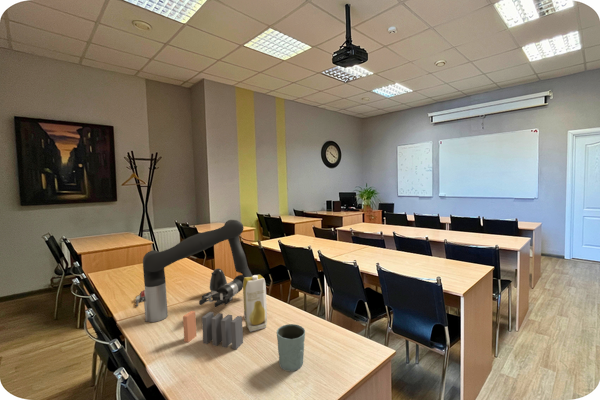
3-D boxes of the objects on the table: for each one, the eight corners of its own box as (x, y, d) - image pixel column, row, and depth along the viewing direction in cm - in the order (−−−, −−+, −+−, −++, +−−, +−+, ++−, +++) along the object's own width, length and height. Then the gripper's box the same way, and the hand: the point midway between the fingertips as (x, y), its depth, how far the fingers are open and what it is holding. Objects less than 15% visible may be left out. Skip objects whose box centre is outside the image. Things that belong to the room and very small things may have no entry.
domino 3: (212, 345, 113) (211, 318, 112) (220, 338, 118) (218, 313, 117) (216, 345, 112) (215, 319, 112) (224, 339, 117) (222, 313, 116)
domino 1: (184, 341, 116) (182, 316, 115) (192, 335, 121) (191, 310, 120) (188, 342, 115) (186, 316, 115) (196, 336, 120) (195, 311, 119)
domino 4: (222, 346, 111) (220, 320, 111) (229, 340, 116) (228, 314, 115) (226, 347, 111) (225, 320, 110) (233, 340, 115) (232, 315, 115)
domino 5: (232, 348, 110) (230, 321, 109) (238, 341, 115) (237, 315, 114) (236, 349, 109) (235, 322, 109) (243, 342, 114) (241, 316, 113)
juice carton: (248, 333, 121) (246, 279, 119) (243, 325, 128) (241, 274, 126) (268, 328, 125) (266, 275, 123) (262, 320, 132) (260, 270, 130)
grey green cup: (277, 355, 104) (276, 324, 104) (304, 353, 105) (303, 322, 105) (278, 374, 94) (276, 340, 94) (307, 371, 95) (306, 337, 95)
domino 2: (203, 343, 115) (201, 317, 114) (211, 336, 119) (209, 311, 119) (207, 343, 114) (205, 317, 113) (214, 337, 119) (213, 312, 118)
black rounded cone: (206, 295, 164) (204, 270, 163) (217, 289, 173) (216, 265, 172) (220, 298, 160) (218, 272, 159) (231, 291, 170) (229, 266, 169)
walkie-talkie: (136, 296, 168) (134, 308, 150) (136, 288, 168) (134, 300, 150) (153, 293, 172) (153, 305, 154) (152, 286, 172) (152, 297, 154)
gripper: (215, 283, 147) (194, 294, 131) (239, 285, 142) (220, 298, 126) (216, 296, 147) (195, 310, 132) (239, 300, 142) (220, 314, 127)
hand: (207, 304), depth 129 cm, fingers open, 8 cm apart
